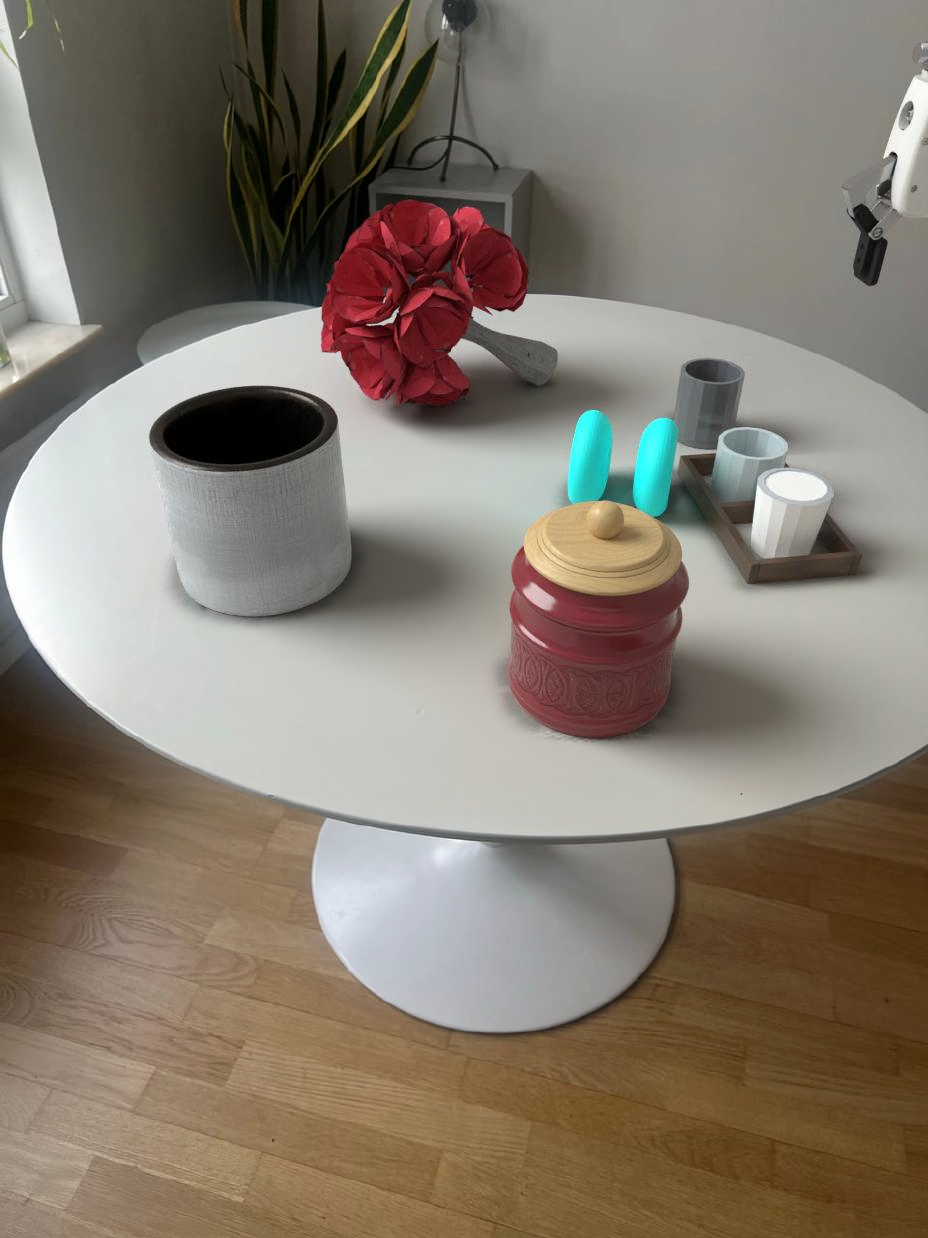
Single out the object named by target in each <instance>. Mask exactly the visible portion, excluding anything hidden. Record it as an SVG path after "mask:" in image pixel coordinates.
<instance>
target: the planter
mask: <svg viewBox="0 0 928 1238" xmlns="http://www.w3.org/2000/svg"><path fill="white" fill-rule="evenodd" d="M339 427H340V426H339V418H338V415H337V413H336V411H335V409H334V408H333V406H332V405H331V404H329V403H328V402H327V401H326V400H324V399H323V398H321V397H319V396H317V395H315V394H312V393H310V392H307V391H304V390H300V389H296V388H291V387H286V386H278V385H242V386H234V387H233V386H232V387H226V388H225V387H224V388H220V389H216V390H211V391H208V392H204V393H200V394H198V395H195V396H192V397H190V398H187V399H184V400H182V401H181V402H179V403H177V404H175V405H173V406H171V407H170V408H168V409H167V410H166V411H164V412H163V413H162V414H161V415H159V416H158V417H157V419H156V420H155V421H154V422H153V423H152V425H151V427H150V430H149V433H148V443H149V447H150V452H151V457H152V460H153V464H154V469H155V474H156V478H157V482H158V486H159V492H160V494H161V500H162V504H163V509H164V513H165V519H166V523H167V528H168V532H169V537H170V542H171V546H172V552H173V556H174V560H175V565H176V569H177V573H178V578H179V579H180V580H179V581H180V582H181V584H182V587H183V589H184V590H185V592H186V593H187V595H188V596H189V597H190V598H191V599H192V600H194V601H195V602H196V603H198V604H199V605H201V606H203V607H205V608H206V609H209V610H212V611H215V612H217V613H220V614H225V615H230V616H238V617H267V616H269V617H270V616H277V615H281V614H286V613H290V612H294V611H297V610H301V609H303V608H306V607H308V606H311V605H313V604H314V603H317V602H319V601H321V600H322V599H324V598H326V597H327V596H328V595H330V594H331V593H333V592H334V591H335V590H336V589H337V588H338V587H339V586H340V585H341V584H342V583H343V581H344V580H346V577H347V576H348V574H349V572H350V569H351V565H352V554H353V550H352V538H351V529H350V520H349V513H348V512H349V510H348V503H347V494H346V485H345V475H344V467H343V458H342V447H341V438H340V437H341V436H340V428H339Z"/></svg>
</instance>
